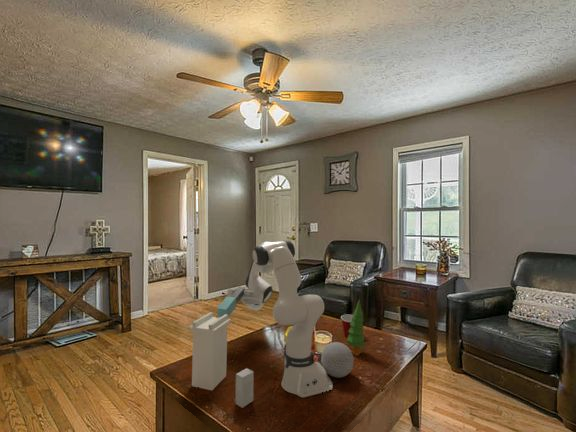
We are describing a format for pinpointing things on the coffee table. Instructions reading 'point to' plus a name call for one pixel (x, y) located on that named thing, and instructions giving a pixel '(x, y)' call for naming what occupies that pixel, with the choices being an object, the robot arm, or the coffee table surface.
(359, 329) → the decorative tree
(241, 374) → the skincare box
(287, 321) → the robot arm
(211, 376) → the cable duct stand
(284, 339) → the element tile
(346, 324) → the plastic cup
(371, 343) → the coffee table surface
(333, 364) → the decorative ball
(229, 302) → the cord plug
